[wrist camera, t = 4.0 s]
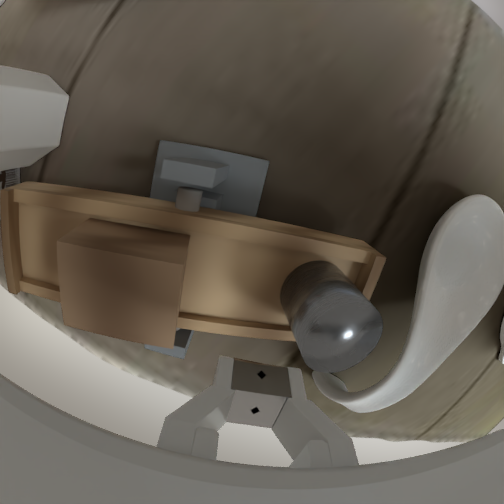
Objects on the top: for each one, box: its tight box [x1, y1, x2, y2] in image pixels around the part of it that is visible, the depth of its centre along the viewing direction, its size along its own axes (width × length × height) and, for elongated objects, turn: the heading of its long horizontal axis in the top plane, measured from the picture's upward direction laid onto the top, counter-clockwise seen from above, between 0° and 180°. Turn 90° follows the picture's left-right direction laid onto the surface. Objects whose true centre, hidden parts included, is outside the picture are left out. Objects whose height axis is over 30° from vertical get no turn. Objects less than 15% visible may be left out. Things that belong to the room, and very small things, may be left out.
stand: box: [145, 140, 269, 359], centre depth 18 cm, size 8×14×6 cm, turn 167°
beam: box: [0, 181, 386, 341], centre depth 16 cm, size 24×9×3 cm, turn 77°
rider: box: [57, 218, 191, 349], centre depth 13 cm, size 6×5×4 cm
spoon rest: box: [312, 194, 504, 413], centre depth 19 cm, size 24×12×7 cm, turn 142°
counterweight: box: [280, 260, 383, 373], centre depth 15 cm, size 4×4×5 cm
